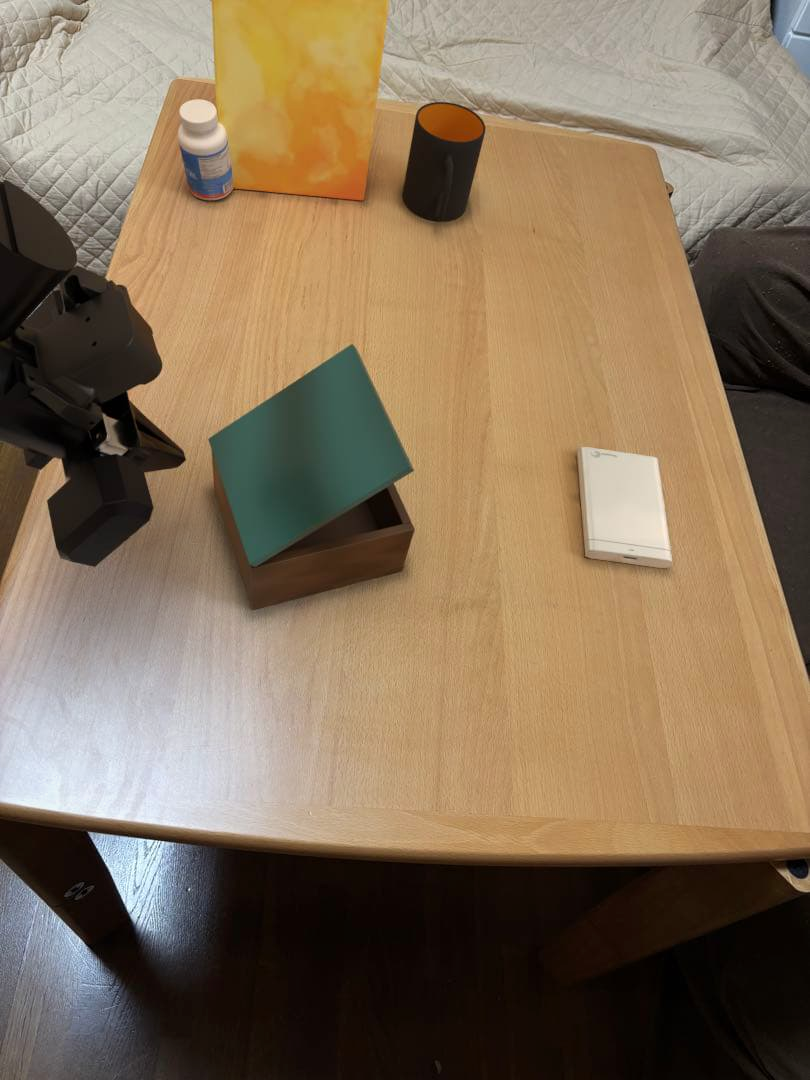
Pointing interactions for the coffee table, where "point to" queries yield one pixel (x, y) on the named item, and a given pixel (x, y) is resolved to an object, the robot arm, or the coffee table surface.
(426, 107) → the mug
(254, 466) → the lid
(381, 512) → the box
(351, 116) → the mottled yellow carton
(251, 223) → the coffee table surface
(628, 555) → the hard drive
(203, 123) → the pill bottle
